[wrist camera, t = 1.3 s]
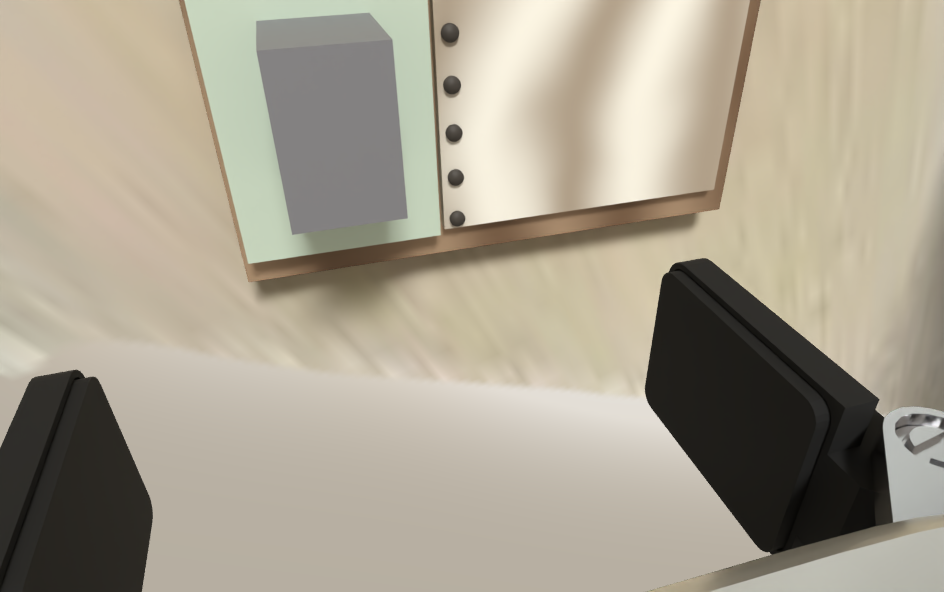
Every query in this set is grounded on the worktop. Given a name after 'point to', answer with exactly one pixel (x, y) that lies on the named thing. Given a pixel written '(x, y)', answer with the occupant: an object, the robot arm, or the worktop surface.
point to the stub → (322, 120)
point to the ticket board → (565, 119)
